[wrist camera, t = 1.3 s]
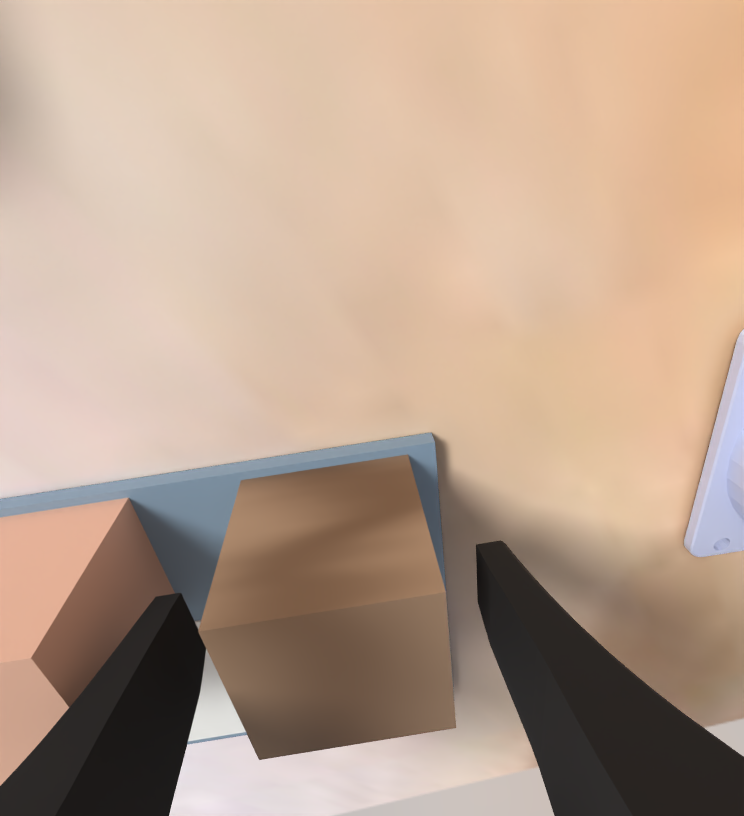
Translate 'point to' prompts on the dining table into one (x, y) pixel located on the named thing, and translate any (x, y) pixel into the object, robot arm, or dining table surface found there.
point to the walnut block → (331, 610)
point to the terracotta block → (65, 610)
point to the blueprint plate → (206, 528)
